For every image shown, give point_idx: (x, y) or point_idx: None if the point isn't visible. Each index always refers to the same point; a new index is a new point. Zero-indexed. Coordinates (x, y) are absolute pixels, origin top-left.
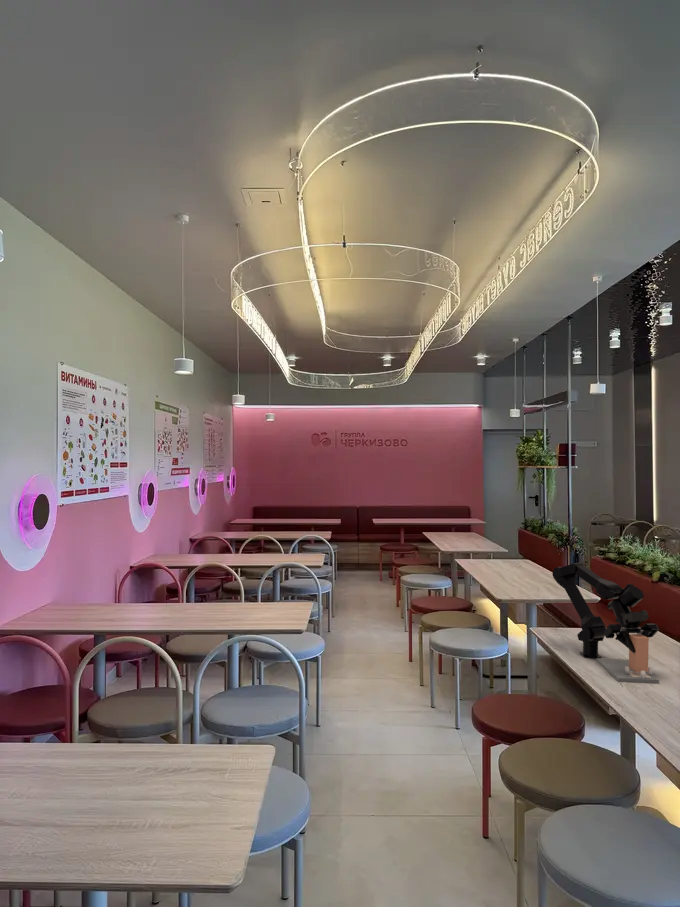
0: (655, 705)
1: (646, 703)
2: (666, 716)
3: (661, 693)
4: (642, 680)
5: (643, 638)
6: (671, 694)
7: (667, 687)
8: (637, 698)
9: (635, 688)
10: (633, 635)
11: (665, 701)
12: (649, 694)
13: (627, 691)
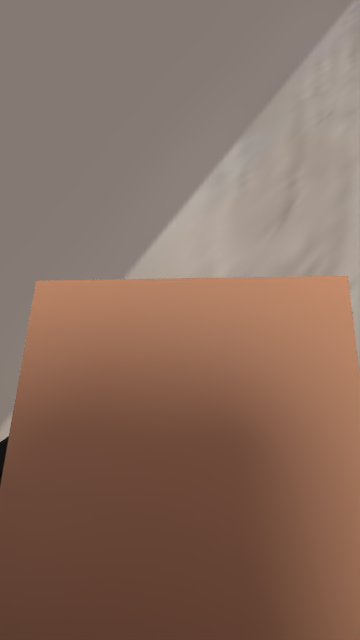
0: (316, 119)
1: (341, 133)
2: (333, 49)
3: (219, 215)
4: None
5: (162, 284)
6: (187, 206)
7: (151, 269)
8: (350, 172)
9: (295, 266)
10: (311, 546)
11: (255, 150)
12: (274, 207)
13: (353, 237)
